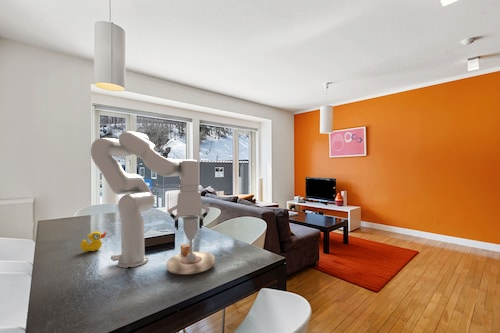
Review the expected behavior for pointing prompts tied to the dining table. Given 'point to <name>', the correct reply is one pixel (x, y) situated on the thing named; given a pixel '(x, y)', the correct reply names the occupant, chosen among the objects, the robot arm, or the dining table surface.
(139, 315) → the dining table surface
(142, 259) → the robot arm
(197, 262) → the turntable
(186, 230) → the chalice
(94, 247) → the duckling
